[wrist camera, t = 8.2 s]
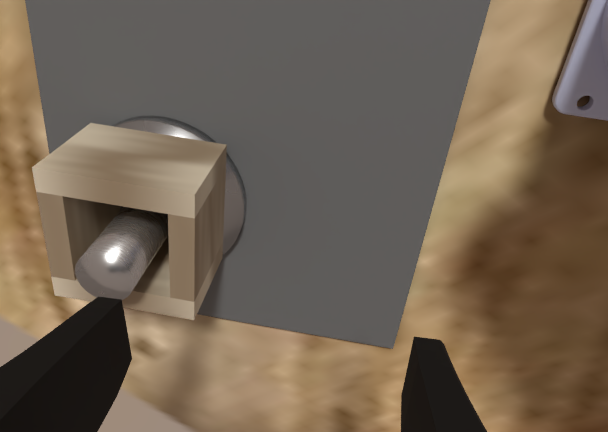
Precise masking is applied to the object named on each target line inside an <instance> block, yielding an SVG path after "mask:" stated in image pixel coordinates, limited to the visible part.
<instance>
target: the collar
mask: <svg viewBox="0 0 608 432" xmlns="http://www.w3.org/2000/svg"><path fill="white" fill-rule="evenodd" d="M226 153H227V145H225V144H219V143H213V142H207V141H201V140H194V139H188V138H182V137H176V136H170V135H163V134H157V133H151V132H145V131H139V130H132V129H126V128H120V127H114V126H108V125H101V124H95V123H90V124H88V125H87V126H86V127H85V128H83V129H82V130H81V131H79V132H78V133H77V134H75V135H74V136H73V137H71V138H70V139H69V140H68V141H66V142H65V143H64V144H62V145H61V146H60V147H58V148H57V149H56V150H54V151H53V152H52V153H50V154H49V155H48V156H47V157H45V158H44V159H43V160H41V161H40V162H39V163H37V164H36V165H35V166H33V167H32V170H33V176H34V182H35V187H36V193H37V198H38V204H39V210H40V215H41V221H42V226H43V232H44V238H45V243H46V249H47V255H48V260H49V266H50V271H51V277H52V283H53V288H54V294H55V295H56V296H62V297H68V298H73V299H79V300H84V301H90V302H91V301H93V300H94V299H96V297H94V296H93V295H91V294H90V293H88V292H87V291H86V290H85V289H84V288H83V287H82V286H81V285H80V283H79V282H78V280H77V278H76V274H75V266H76V263H77V261H78V260H79V259H80V258H81V256H82V255H83V254H84V253H85V252H86V250H87V249H88V248H89V247H90V246H91V245H92V243H93V242H94V241H95V240H96V239H97V237H98V236H99V235H100V234H101V233H102V232H103V230H104V229H105V228H106V227H107V226H108V224H109V223H110V222H111V221H112V220H113V219H114V217H115V216H116V215H117V214H118V213H119V212H120V206H124V207H129V208H135V209H141V210H147V211H153V212H159V213H165V214H168V236H167V238H166V239H165V241H164V242H163V244H162V246H161V247H160V249H159V250H158V252H157V253H156V255H155V256H154V258H153V260H152V261H151V263H150V264H149V266H148V267H147V269H146V270H145V272H144V274H143V275H142V277H141V278H140V280H139V281H138V283H137V284H136V286H135V288H134V289H133V291H132V292H131V294H130V295H129V296H128V297H127V298H125V299H123V300H122V304H123V308H129V309H134V310H140V311H145V312H151V313H157V314H162V315H168V316H173V317H179V318H184V319H190V320H195V317H196V315H197V313H198V311H199V309H200V306H201V304H202V302H203V300H204V297H205V295H206V293H207V291H208V289H209V286H210V284H211V282H212V280H213V278H214V275H215V273H216V271H217V269H218V267H219V264H220V262H221V260H222V256H223V230H224V205H225V179H226Z"/></svg>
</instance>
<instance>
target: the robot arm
mask: <svg viewBox="0 0 608 432" xmlns="http://www.w3.org/2000/svg"><path fill="white" fill-rule="evenodd" d="M583 96H590V100H589V102H588V103H587V104H586V105H584V106H580V107H578V106H577V101H578V100H579V99H580V98H581V97H583ZM552 103H553V106H554V107H555V108H556V109H557V110H558V111H559V112H560V113H563V114H567V115H573V116H580V117H587V118H593V119H600V120H607V121H608V0H588V2H587V5H586V8H585V11H584V13H583V16H582V19H581V21H580V24H579V27H578V29H577V32H576V35H575V37H574V40H573V43H572V45H571V48H570V51H569V53H568V56H567V59H566V62H565V64H564V67H563V70H562V72H561V75H560V78H559V80H558V83H557V86H556V88H555V91H554V94H553V98H552ZM131 360H132V356H131V350H130V344H129V339H128V333H127V327H126V321H125V316H124V310H123V304H122V299H114V298H106V297H97V298H96V299H94V300H93V301H91V302H90V303H89V304H87V305H86V306H85V307H83V308H82V309H81V310H79V311H78V312H77V313H75V314H74V315H73V316H71V317H70V318H69V319H67V320H66V321H65V322H63V323H62V324H61V325H59V326H58V327H57V328H55V329H54V330H53V331H51V332H50V333H48V334H47V335H46V336H44V337H43V338H42V339H40V340H39V341H38V342H36V343H35V344H33V345H32V346H31V347H29V348H28V349H27V350H25V351H24V352H22V353H21V354H19V355H18V356H16V357H15V358H13V359H12V360H10V361H9V362H7V363H6V364H4V365H3V366H1V367H0V432H97V431H98V429H99V428H100V426H101V424H102V422H103V421H104V419H105V417H106V415H107V413H108V411H109V409H110V408H111V406H112V404H113V402H114V400H115V398H116V397H117V394H118V392H119V390H120V387H121V385H122V383H123V380H124V378H125V375H126V372H127V370H128V367H129V365H130V362H131ZM401 432H487V431H486V429H485V427H484V425H483V424H482V422H481V420H480V418H479V416H478V415H477V413H476V411H475V409H474V407H473V405H472V404H471V402H470V400H469V398H468V396H467V394H466V392H465V390H464V388H463V386H462V384H461V382H460V380H459V378H458V376H457V374H456V371H455V369H454V367H453V365H452V363H451V360H450V358H449V356H448V353H447V351H446V348H445V346H444V344H443V343H442V341H441V340H436V339H428V338H420V337H414V340H413V344H412V349H411V354H410V358H409V363H408V368H407V373H406V377H405V382H404V387H403V391H402V402H401Z"/></svg>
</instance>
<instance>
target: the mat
mask: <svg viewBox="0 0 608 432" xmlns="http://www.w3.org/2000/svg"><path fill="white" fill-rule="evenodd" d="M25 2H26V8H27V14H28V21H29V27H30V33H31V40H32V46H33V52H34V59H35V65H36V71H37V78H38V84H39V90H40V97H41V103H42V109H43V116H44V122H45V128H46V134H47V141H48V147H49V153H52V152H53V151H54V150H56V149H57V148H58V147H60V146H61V145H62V144H64V143H65V142H66V141H68V140H69V139H70V138H71V137H73V136H74V135H75V134H77V133H78V132H79V131H81V130H82V129H83V128H85V127H86V126H87V125H88V124H90V123H95V124H101V125H108V126H113V125H115V124H117V123H118V122H120V121H123V120H126V119H129V118H133V117H139V116H161V117H167V118H171V119H176V120H178V121H181V122H184V123H187V124H189V125H191V126H193V127H195V128H197V129H199V130H200V131H202V132H203V133H205V134H207V135H208V136H209V137H210V138H212V139H213V140H214V141H215V142H217V143H219V144H225V145H227V154H228V155H229V157H230V158H231V159H232V161H233V162H234V164H235V166H236V167H237V169H238V171H239V173H240V175H241V178H242V180H243V184H244V187H245V192H246V198H247V209H246V216H245V220H244V223H243V226H242V228H241V230H240V233H239V235H238V237H237V239H236V241H235V242H234V244H233V245H232V246H231V248H230V249H229V250H228V251H227V252H226V253H225V254H224V255H223V256H222V260H221V262H220V264H219V267H218V269H217V271H216V273H215V275H214V278H213V280H212V282H211V284H210V286H209V289H208V291H207V293H206V295H205V297H204V300H203V302H202V304H201V306H200V309H199V311H198V313H197V314H200V315H205V316H211V317H217V318H222V319H228V320H234V321H239V322H245V323H251V324H256V325H262V326H267V327H273V328H279V329H284V330H290V331H296V332H301V333H307V334H313V335H318V336H324V337H330V338H335V339H341V340H346V341H352V342H358V343H363V344H369V345H375V346H380V347H386V348H392V349H393V346H394V343H395V339H396V336H397V332H398V329H399V325H400V321H401V318H402V314H403V311H404V307H405V304H406V300H407V296H408V293H409V289H410V286H411V282H412V279H413V275H414V272H415V268H416V264H417V261H418V257H419V254H420V250H421V247H422V243H423V239H424V236H425V232H426V229H427V225H428V222H429V218H430V214H431V211H432V207H433V204H434V200H435V197H436V193H437V189H438V186H439V182H440V179H441V175H442V172H443V168H444V165H445V161H446V157H447V154H448V150H449V147H450V143H451V140H452V136H453V132H454V129H455V125H456V122H457V118H458V115H459V111H460V107H461V104H462V100H463V97H464V93H465V90H466V86H467V83H468V79H469V75H470V72H471V68H472V65H473V61H474V58H475V54H476V50H477V47H478V43H479V40H480V36H481V33H482V29H483V25H484V22H485V18H486V15H487V11H488V8H489V4H490V0H25Z"/></svg>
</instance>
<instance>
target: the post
mask: <svg viewBox="0 0 608 432" xmlns="http://www.w3.org/2000/svg"><path fill="white" fill-rule="evenodd" d="M113 126H114V127H120V128H126V129H132V130H139V131H145V132H151V133H157V134H163V135H170V136H176V137H182V138H188V139H194V140H201V141H207V142H213V143H217V142H215V141H214V140H213V139H212V138H210V137H209V136H208V135H207V134H205V133H203V132H202V131H200V130H199V129H197V128H195V127H193V126H191V125H189V124H187V123H184V122H181V121H178V120H176V119H171V118H167V117H161V116H139V117H133V118H129V119H126V120H123V121H120V122H118V123H117V124H115V125H113ZM246 209H247V198H246V192H245V187H244V184H243V180H242V178H241V175H240V173H239V171H238V169H237V167H236V166H235V164H234V162H233V161H232V159H231V158H230V157H229V155H228V154H227V153H226V179H225V205H224V230H223V255H224V254H225V253H226V252H227V251H228V250H229V249H230V248H231V246H232V245H233V244H234V242H235V241H236V239H237V237H238V235H239V233H240V230H241V228H242V226H243V223H244V220H245V216H246ZM167 236H168V214H165V213H159V212H153V211H147V210H141V209H135V208H129V207H124V206H120V212H119V213H118V214H117V215H116V216H115V217H114V219H113V220H112V221H111V222H110V223H109V224H108V226H107V227H106V228H105V229H104V230H103V232H102V233H101V234H100V235H99V236H98V237H97V239H96V240H95V241H94V242H93V243H92V245H91V246H90V247H89V248H88V249H87V250H86V252H85V253H84V254H83V255H82V256H81V258H80V259H79V260H78V261H77V263H76V266H75V274H76V278H77V280H78V282H79V283H80V285H81V286H82V287H83V288H84V289H85V290H86V291H87V292H88V293H90V294H91V295H93V296H94V297H96V298H97V297H106V298H114V299H122V300H123V299H125V298H127V297H128V296H129V295H130V294H131V292H132V291H133V289H134V288H135V286H136V284H137V283H138V281H139V280H140V278H141V277H142V275H143V274H144V272H145V270H146V269H147V267H148V266H149V264H150V263H151V261H152V260H153V258H154V256H155V255H156V253H157V252H158V250H159V249H160V247H161V246H162V244H163V242H164V241H165V239H166V238H167Z"/></svg>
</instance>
